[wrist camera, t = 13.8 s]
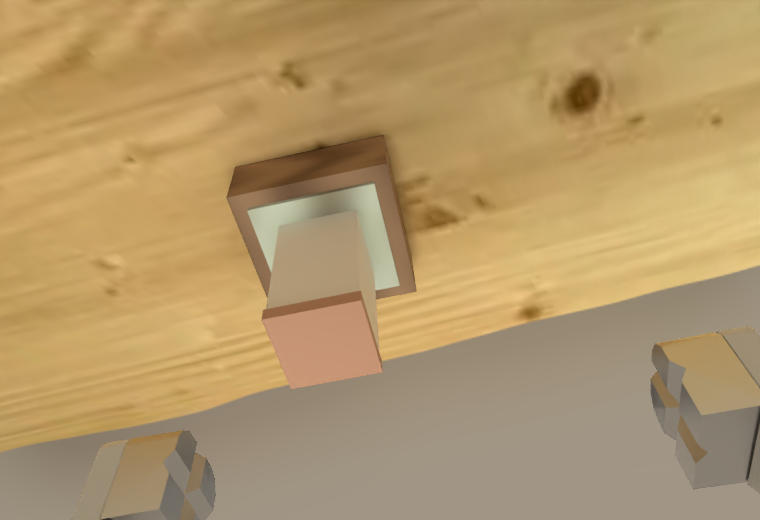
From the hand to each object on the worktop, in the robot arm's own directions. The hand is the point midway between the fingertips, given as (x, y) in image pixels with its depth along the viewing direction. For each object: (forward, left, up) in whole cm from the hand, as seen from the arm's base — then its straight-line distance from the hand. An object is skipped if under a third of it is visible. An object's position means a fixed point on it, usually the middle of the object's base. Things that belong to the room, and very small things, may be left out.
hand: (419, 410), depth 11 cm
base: (+6, +14, -31) cm, 35 cm away
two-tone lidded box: (+6, +14, -27) cm, 31 cm away
